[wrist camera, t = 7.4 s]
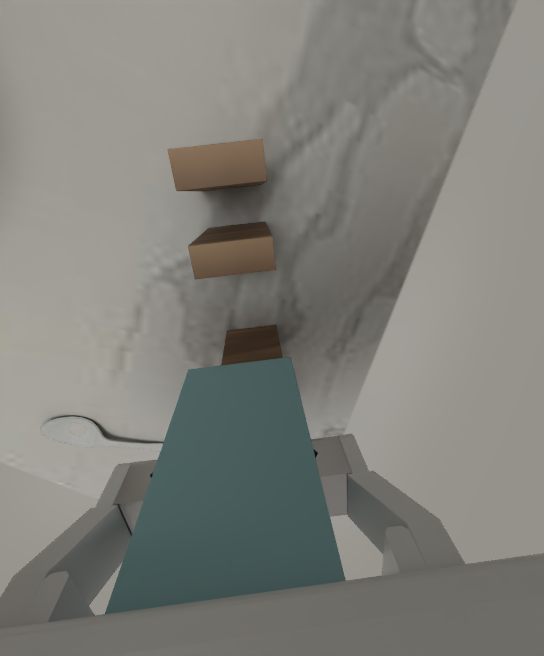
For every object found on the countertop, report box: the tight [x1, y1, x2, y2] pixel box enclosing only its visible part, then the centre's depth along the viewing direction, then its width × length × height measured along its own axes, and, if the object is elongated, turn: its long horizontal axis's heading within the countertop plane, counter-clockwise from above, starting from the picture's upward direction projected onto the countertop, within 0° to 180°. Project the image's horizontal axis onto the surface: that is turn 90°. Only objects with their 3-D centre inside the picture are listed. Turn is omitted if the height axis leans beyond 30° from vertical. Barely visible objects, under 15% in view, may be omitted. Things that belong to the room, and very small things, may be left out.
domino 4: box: [105, 357, 346, 614], centre depth 11 cm, size 2×5×10 cm, turn 96°
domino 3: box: [221, 325, 282, 366], centre depth 27 cm, size 2×5×10 cm, turn 96°
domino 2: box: [188, 222, 276, 279], centre depth 23 cm, size 2×5×10 cm, turn 96°
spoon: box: [40, 416, 163, 452], centre depth 36 cm, size 4×21×2 cm, turn 72°
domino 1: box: [168, 139, 267, 191], centre depth 21 cm, size 2×5×10 cm, turn 96°
